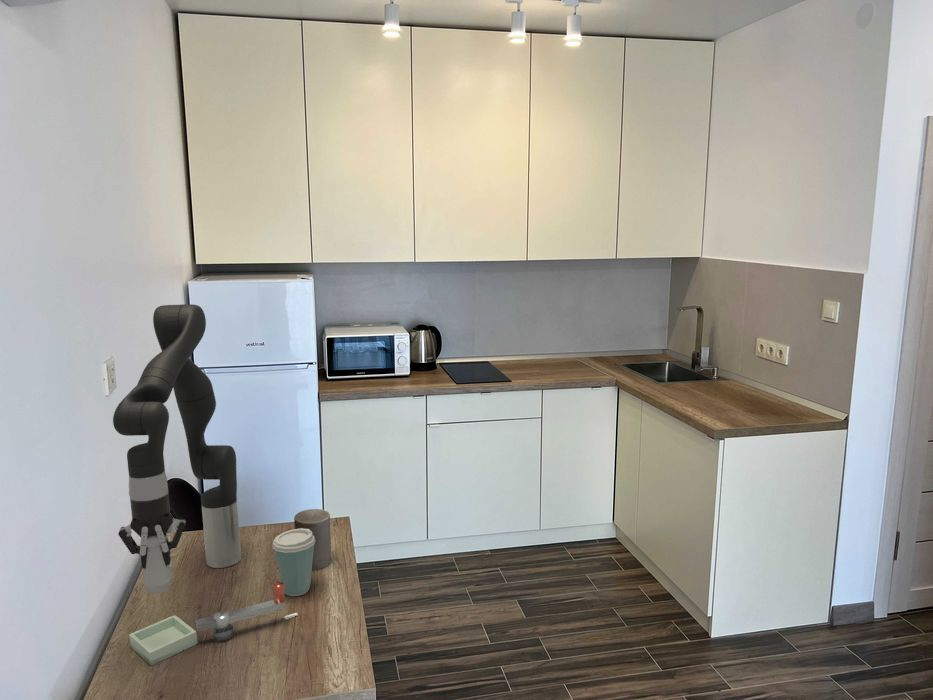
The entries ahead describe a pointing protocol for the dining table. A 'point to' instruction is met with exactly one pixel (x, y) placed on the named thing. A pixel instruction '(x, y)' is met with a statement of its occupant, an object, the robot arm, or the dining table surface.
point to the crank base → (223, 635)
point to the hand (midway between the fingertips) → (156, 567)
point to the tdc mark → (290, 616)
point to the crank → (243, 612)
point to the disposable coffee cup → (295, 560)
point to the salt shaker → (156, 568)
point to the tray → (163, 639)
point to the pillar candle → (317, 534)
